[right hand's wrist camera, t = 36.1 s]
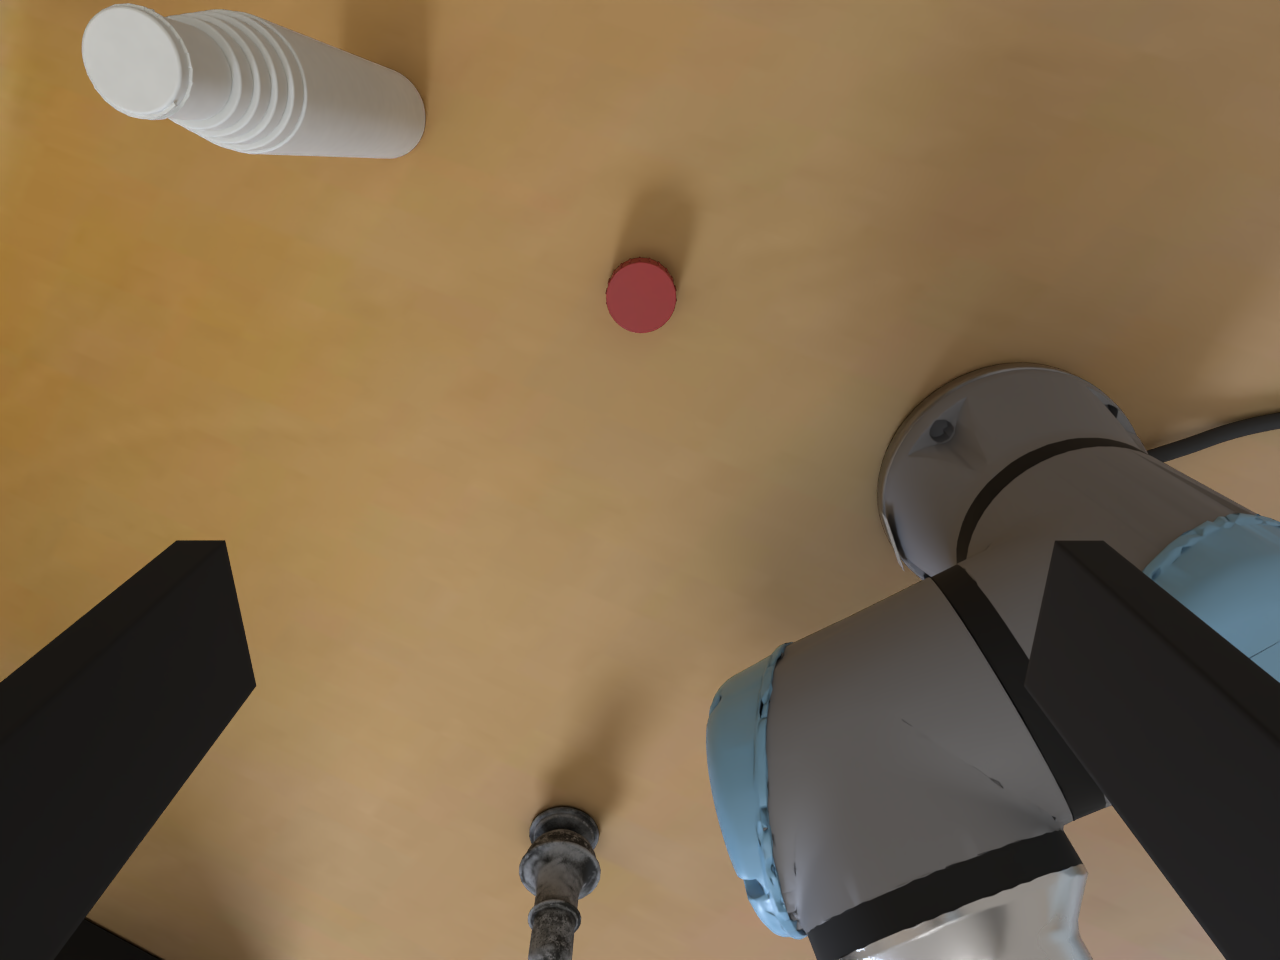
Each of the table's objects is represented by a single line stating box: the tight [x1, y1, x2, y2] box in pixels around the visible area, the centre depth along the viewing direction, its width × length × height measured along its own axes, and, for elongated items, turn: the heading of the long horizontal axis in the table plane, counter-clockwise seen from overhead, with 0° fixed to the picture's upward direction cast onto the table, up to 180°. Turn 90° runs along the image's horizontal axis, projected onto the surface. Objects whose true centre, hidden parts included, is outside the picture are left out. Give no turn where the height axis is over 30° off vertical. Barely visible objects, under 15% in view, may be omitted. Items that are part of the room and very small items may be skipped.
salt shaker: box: [519, 807, 601, 960], centre depth 55 cm, size 6×6×12 cm
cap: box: [606, 257, 677, 333], centre depth 44 cm, size 4×4×2 cm
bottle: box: [82, 3, 425, 158], centre depth 32 cm, size 4×4×22 cm
